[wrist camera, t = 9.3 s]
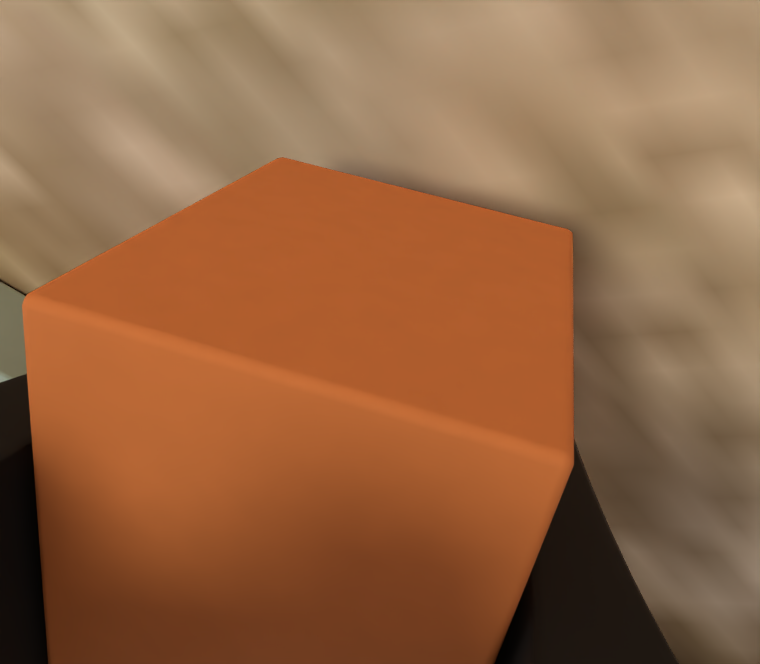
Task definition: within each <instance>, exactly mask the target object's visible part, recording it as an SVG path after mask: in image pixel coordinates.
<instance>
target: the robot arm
mask: <svg viewBox="0 0 760 664" xmlns="http://www.w3.org/2000/svg"><path fill="white" fill-rule="evenodd" d="M0 664H48V655H47V641H46V628H45V614H44V600H43V586H42V573H41V559H40V545H39V532H38V518H37V504H36V491H35V477H34V463H33V450H32V436H31V422H30V409H29V395H28V381H27V374H24V375H21V376H18V377H15V378H12V379H9V380H6V381H3V382H0ZM494 664H679V663H678V661H677V660H676V658H675V656H674V654H673V653H672V651H671V649H670V647H669V645H668V644H667V642H666V640H665V638H664V636H663V634H662V632H661V631H660V629H659V627H658V625H657V623H656V621H655V619H654V618H653V616H652V614H651V612H650V610H649V608H648V606H647V605H646V603H645V601H644V599H643V597H642V595H641V593H640V591H639V589H638V587H637V585H636V583H635V581H634V579H633V577H632V575H631V573H630V570H629V568H628V566H627V564H626V562H625V560H624V558H623V555H622V553H621V551H620V549H619V547H618V545H617V543H616V541H615V538H614V536H613V534H612V532H611V530H610V528H609V525H608V523H607V521H606V518H605V516H604V514H603V512H602V509H601V507H600V504H599V502H598V500H597V497H596V495H595V492H594V490H593V487H592V485H591V482H590V480H589V477H588V475H587V472H586V470H585V467H584V464H583V462H582V459H581V456H580V454H579V451H578V448H577V445H576V443H575V440H574V466H573V469H572V471H571V474H570V476H569V479H568V481H567V484H566V486H565V489H564V491H563V494H562V496H561V499H560V501H559V504H558V506H557V509H556V511H555V514H554V516H553V519H552V521H551V524H550V526H549V529H548V531H547V534H546V536H545V539H544V541H543V544H542V546H541V549H540V551H539V553H538V556H537V558H536V561H535V563H534V566H533V568H532V571H531V573H530V576H529V578H528V581H527V583H526V586H525V588H524V591H523V593H522V596H521V598H520V601H519V603H518V606H517V608H516V611H515V613H514V616H513V618H512V621H511V623H510V626H509V628H508V631H507V633H506V636H505V638H504V641H503V643H502V646H501V648H500V651H499V653H498V656H497V658H496V661H495V663H494Z"/></svg>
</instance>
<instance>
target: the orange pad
mask: <svg viewBox="0 0 760 664" xmlns="http://www.w3.org/2000/svg"><path fill="white" fill-rule="evenodd" d="M22 313H23V327H24V340H25V354H26V368H27V381H28V395H29V409H30V422H31V436H32V450H33V463H34V477H35V491H36V504H37V518H38V532H39V545H40V559H41V573H42V586H43V600H44V614H45V628H46V641H47V655H48V664H494V663H495V661H496V658H497V656H498V653H499V651H500V648H501V646H502V643H503V641H504V638H505V636H506V633H507V631H508V628H509V626H510V623H511V621H512V618H513V616H514V613H515V611H516V608H517V606H518V603H519V601H520V598H521V596H522V593H523V591H524V588H525V586H526V583H527V581H528V578H529V576H530V573H531V571H532V568H533V566H534V563H535V561H536V558H537V556H538V553H539V551H540V549H541V546H542V544H543V541H544V539H545V536H546V534H547V531H548V529H549V526H550V524H551V521H552V519H553V516H554V514H555V511H556V509H557V506H558V504H559V501H560V499H561V496H562V494H563V491H564V489H565V486H566V484H567V481H568V479H569V476H570V474H571V471H572V469H573V466H574V357H573V234H572V232H571V231H569V230H568V229H565V228H561V227H557V226H553V225H549V224H545V223H541V222H537V221H533V220H529V219H525V218H521V217H517V216H513V215H509V214H505V213H501V212H497V211H494V210H490V209H486V208H482V207H478V206H474V205H470V204H466V203H462V202H458V201H454V200H450V199H446V198H442V197H438V196H434V195H430V194H426V193H422V192H418V191H414V190H410V189H406V188H402V187H398V186H394V185H390V184H386V183H382V182H378V181H375V180H371V179H367V178H363V177H359V176H355V175H351V174H347V173H343V172H339V171H335V170H331V169H327V168H323V167H319V166H315V165H311V164H307V163H303V162H299V161H295V160H291V159H287V158H283V157H282V158H277V159H275V160H274V161H272V162H270V163H268V164H266V165H264V166H262V167H261V168H259V169H257V170H255V171H253V172H251V173H250V174H248V175H246V176H244V177H242V178H240V179H239V180H237V181H235V182H233V183H231V184H229V185H227V186H226V187H224V188H222V189H220V190H218V191H216V192H215V193H213V194H211V195H209V196H207V197H205V198H203V199H202V200H200V201H198V202H196V203H194V204H192V205H191V206H189V207H187V208H185V209H183V210H181V211H179V212H178V213H176V214H174V215H172V216H170V217H168V218H167V219H165V220H163V221H161V222H159V223H157V224H156V225H154V226H152V227H150V228H148V229H146V230H144V231H143V232H141V233H139V234H137V235H135V236H133V237H132V238H130V239H128V240H126V241H124V242H122V243H120V244H119V245H117V246H115V247H113V248H111V249H109V250H108V251H106V252H104V253H102V254H100V255H98V256H96V257H95V258H93V259H91V260H89V261H87V262H85V263H84V264H82V265H80V266H78V267H76V268H74V269H73V270H71V271H69V272H67V273H65V274H63V275H61V276H60V277H58V278H56V279H54V280H52V281H50V282H49V283H47V284H45V285H43V286H41V287H39V288H37V289H36V290H34V291H32V292H30V293H28V294H27V296H26V297H25V298H24V301H23V304H22Z"/></svg>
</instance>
